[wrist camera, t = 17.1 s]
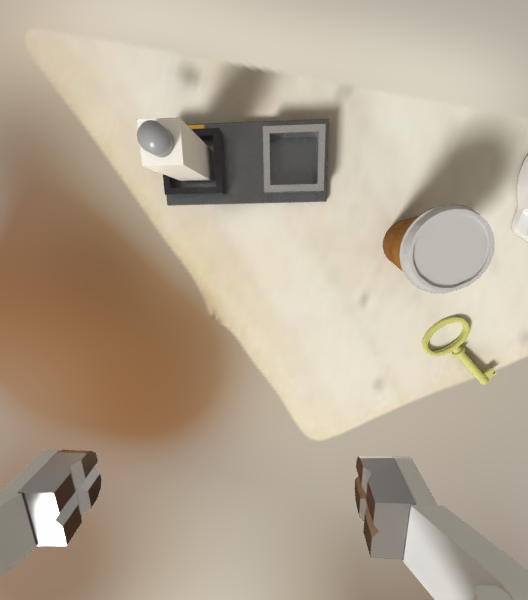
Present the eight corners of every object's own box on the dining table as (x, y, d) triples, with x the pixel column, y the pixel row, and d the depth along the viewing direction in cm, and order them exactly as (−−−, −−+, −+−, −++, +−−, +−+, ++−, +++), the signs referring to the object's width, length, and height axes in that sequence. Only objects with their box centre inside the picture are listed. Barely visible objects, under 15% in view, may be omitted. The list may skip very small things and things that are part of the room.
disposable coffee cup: (424, 283, 45) (475, 305, 33) (362, 266, 44) (391, 283, 33) (451, 217, 42) (516, 217, 30) (384, 200, 42) (425, 193, 30)
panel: (327, 121, 40) (331, 112, 36) (325, 201, 42) (328, 200, 39) (162, 127, 41) (152, 119, 38) (170, 205, 43) (160, 204, 40)
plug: (210, 149, 40) (172, 109, 26) (212, 181, 41) (176, 160, 27) (181, 150, 41) (126, 111, 26) (183, 182, 42) (132, 162, 27)
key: (479, 380, 48) (487, 388, 46) (414, 345, 48) (420, 350, 46) (509, 344, 47) (520, 350, 45) (442, 306, 46) (450, 310, 44)
